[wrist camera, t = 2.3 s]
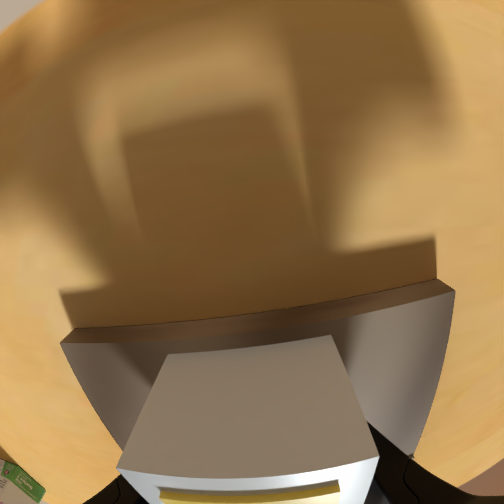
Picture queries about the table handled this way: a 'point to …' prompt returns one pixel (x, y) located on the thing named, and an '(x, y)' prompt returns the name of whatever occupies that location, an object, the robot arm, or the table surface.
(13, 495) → the ink box
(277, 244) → the table surface
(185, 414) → the block
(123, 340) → the subfloor board
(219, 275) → the table surface
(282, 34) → the table surface
